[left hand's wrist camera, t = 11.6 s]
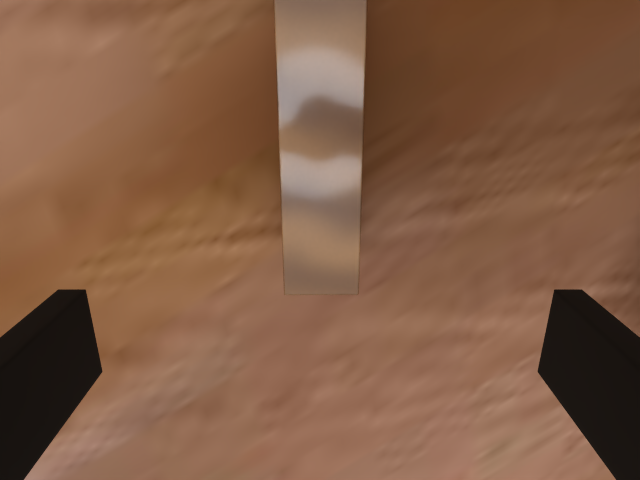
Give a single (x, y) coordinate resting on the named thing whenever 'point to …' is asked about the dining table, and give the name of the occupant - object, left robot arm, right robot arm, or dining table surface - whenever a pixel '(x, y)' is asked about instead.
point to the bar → (320, 141)
